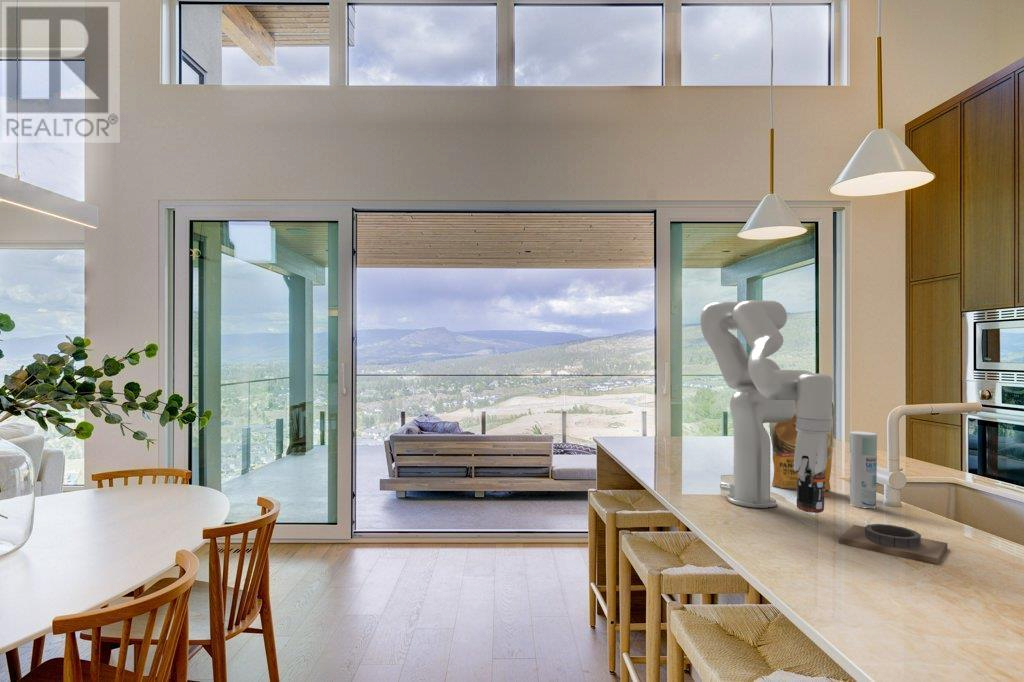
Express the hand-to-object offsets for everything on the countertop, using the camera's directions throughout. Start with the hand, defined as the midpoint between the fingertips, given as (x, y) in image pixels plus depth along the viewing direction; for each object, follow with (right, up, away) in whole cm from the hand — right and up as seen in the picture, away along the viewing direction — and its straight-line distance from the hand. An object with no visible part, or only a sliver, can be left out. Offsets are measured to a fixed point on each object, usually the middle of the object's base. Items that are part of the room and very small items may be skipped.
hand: (810, 498), depth 140 cm
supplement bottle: (0, -3, 0) cm, 3 cm away
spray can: (+25, -8, +20) cm, 33 cm away
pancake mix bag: (+17, -8, +40) cm, 44 cm away
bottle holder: (+12, -7, -12) cm, 18 cm away
